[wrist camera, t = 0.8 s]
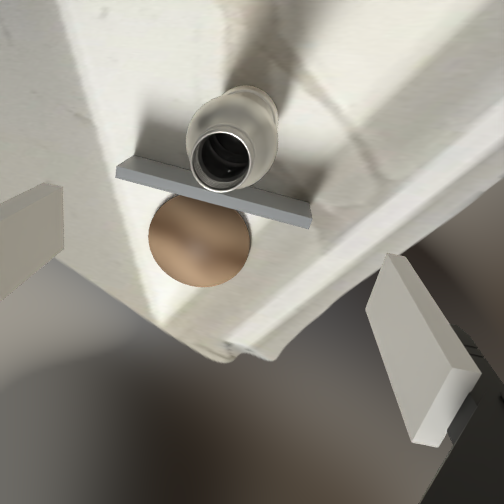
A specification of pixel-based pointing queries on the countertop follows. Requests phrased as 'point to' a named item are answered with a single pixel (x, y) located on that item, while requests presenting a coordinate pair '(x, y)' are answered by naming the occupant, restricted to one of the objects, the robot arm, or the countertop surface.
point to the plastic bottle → (233, 139)
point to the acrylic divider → (236, 199)
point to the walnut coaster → (198, 241)
